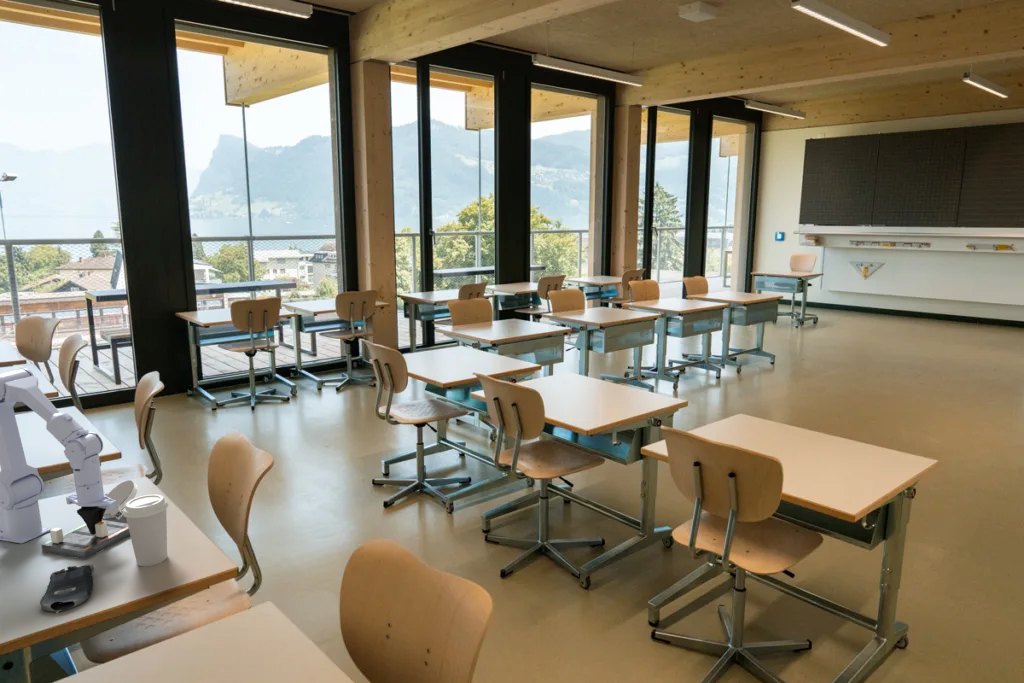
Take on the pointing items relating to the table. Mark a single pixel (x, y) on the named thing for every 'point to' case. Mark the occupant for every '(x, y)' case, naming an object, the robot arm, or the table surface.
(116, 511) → the tabbed white plastic disc
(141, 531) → the coffee cup
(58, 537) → the block
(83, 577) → the electronic device
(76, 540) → the grey slider switch panel
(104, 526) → the block
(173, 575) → the table surface
